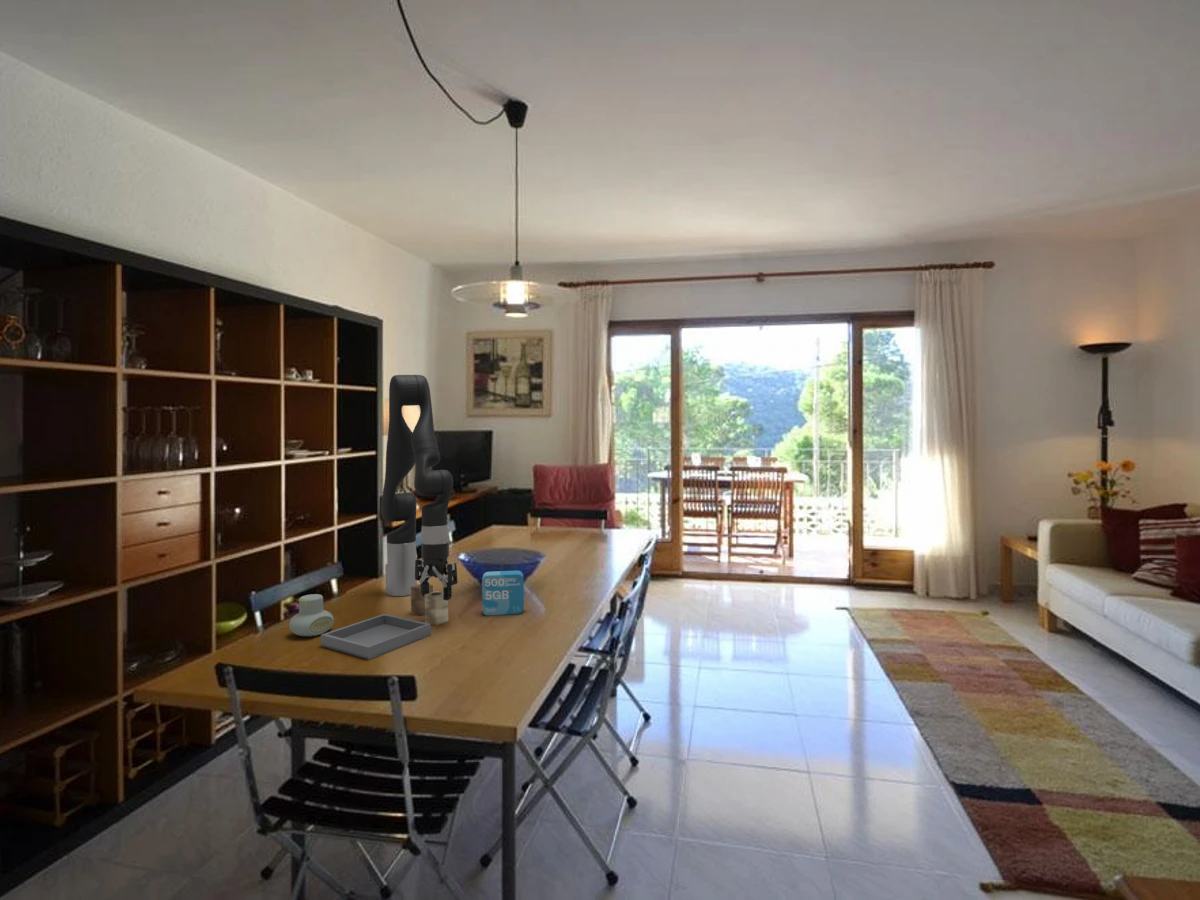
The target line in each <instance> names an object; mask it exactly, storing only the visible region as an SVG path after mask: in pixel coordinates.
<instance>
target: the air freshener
mask: <svg viewBox="0 0 1200 900" xmlns="http://www.w3.org/2000/svg"><path fill="white" fill-rule="evenodd" d="M334 622H335V619H334V616H333V614H332V613H331V612H330V611H327V610H325V609H324V596H323V594H319V593H313V594H311V593H310V594H306V595H302V596H301V597H299V598H298V613H296V614H295V615H294V616H293V617H291V618H290V621H289V623H288V629H289V630H290V631H291V633H293V634H294V635H297V636H299V637H307V638H309V637H311V638H313V637H318V635H319V636H321V635H322V634H325V633H327V632H328V631H329V630H330V629H331V628H332V626H333V625H334ZM312 636H313V637H312Z"/></svg>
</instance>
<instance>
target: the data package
mask: <svg viewBox="0 0 1200 900" xmlns="http://www.w3.org/2000/svg"><path fill="white" fill-rule="evenodd" d="M481 593H482V595H481V596H482V597H481V600H482V607H481V608H482V613H483V614H484V615H485V616H488V617H489V616H502V615H503V616H504V615H505V616H506V615H508V616H509V615H520V614H522V613H523V612H524V608H525V605H524V603H525V602H524V601H525V599H524V598H525V597H524V596H525V594H524V573H523V572H522V571H520V570H499V571H498V570H497V571H495V570H494V571H486V572H484V573H483V575H482V577H481Z"/></svg>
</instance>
